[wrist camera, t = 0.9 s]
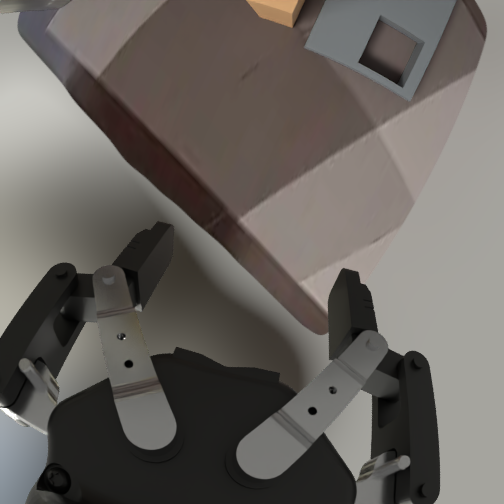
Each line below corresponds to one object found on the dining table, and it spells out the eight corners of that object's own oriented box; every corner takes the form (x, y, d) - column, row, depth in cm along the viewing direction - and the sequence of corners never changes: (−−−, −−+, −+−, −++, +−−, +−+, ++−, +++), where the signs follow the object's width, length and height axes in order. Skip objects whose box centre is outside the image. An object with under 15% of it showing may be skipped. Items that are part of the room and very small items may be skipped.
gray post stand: (303, 48, 28) (308, 40, 18) (352, -55, 17) (375, -95, 8) (402, 98, 29) (448, 120, 19) (448, 0, 19) (502, -10, 9)
